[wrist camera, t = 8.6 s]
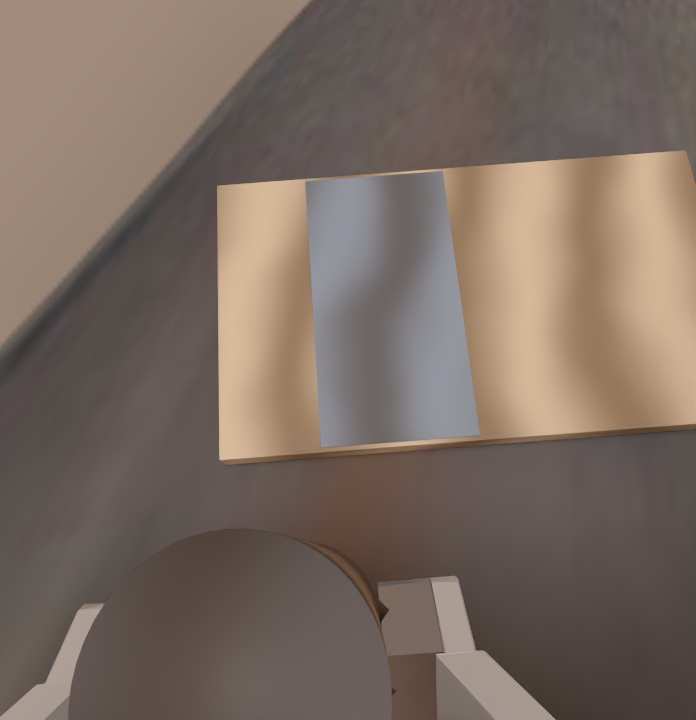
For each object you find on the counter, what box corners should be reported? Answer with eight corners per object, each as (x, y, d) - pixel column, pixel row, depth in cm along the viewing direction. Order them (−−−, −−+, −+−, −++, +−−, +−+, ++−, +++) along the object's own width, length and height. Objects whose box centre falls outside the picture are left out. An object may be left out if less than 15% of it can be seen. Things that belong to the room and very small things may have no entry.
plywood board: (671, 168, 32) (686, 149, 31) (742, 425, 28) (764, 417, 27) (223, 202, 32) (216, 184, 31) (226, 465, 28) (218, 459, 27)
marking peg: (372, 537, 17) (377, 517, 8) (386, 700, 15) (409, 882, 7) (227, 548, 17) (78, 541, 8) (229, 712, 15) (56, 907, 7)
